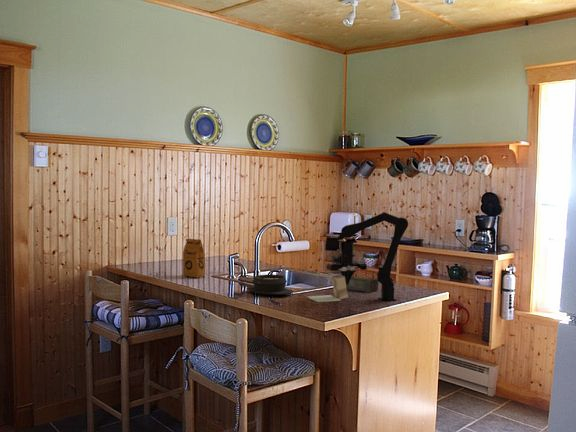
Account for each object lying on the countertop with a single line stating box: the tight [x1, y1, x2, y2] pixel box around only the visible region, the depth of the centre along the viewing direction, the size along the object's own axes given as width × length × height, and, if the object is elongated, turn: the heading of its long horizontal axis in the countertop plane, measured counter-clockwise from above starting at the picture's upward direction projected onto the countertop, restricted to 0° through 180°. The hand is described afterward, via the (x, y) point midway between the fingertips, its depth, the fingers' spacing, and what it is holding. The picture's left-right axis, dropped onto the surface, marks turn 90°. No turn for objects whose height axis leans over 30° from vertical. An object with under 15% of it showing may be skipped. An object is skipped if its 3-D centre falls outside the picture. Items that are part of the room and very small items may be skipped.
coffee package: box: [182, 238, 206, 278], centre depth 317 cm, size 10×12×22 cm
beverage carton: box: [346, 276, 379, 293], centre depth 285 cm, size 8×19×7 cm, turn 52°
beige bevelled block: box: [331, 274, 349, 300], centre depth 261 cm, size 6×4×10 cm, turn 21°
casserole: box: [246, 274, 294, 297], centre depth 270 cm, size 25×19×8 cm
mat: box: [306, 294, 342, 303], centre depth 259 cm, size 12×12×1 cm
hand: (346, 284), depth 263 cm, fingers closed
